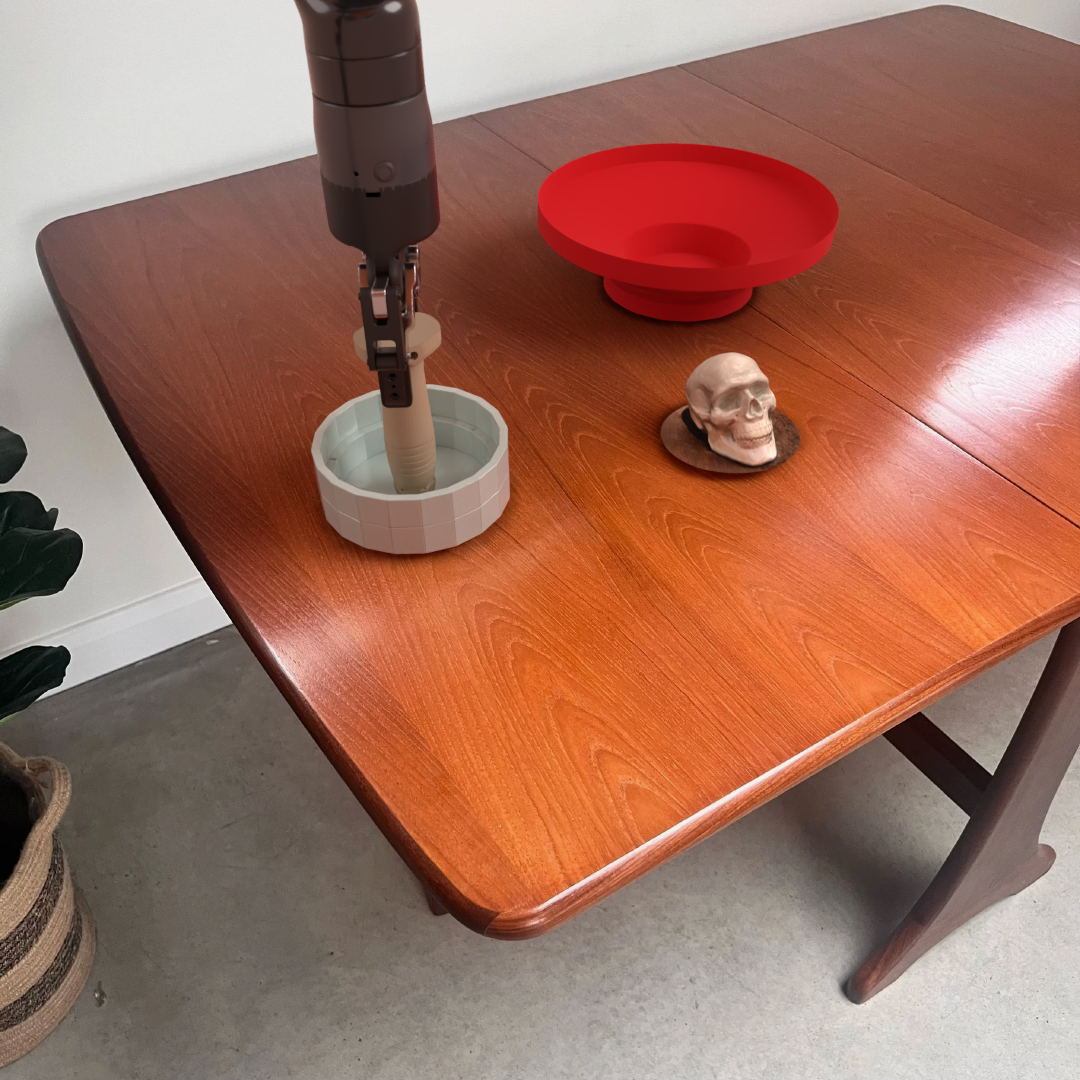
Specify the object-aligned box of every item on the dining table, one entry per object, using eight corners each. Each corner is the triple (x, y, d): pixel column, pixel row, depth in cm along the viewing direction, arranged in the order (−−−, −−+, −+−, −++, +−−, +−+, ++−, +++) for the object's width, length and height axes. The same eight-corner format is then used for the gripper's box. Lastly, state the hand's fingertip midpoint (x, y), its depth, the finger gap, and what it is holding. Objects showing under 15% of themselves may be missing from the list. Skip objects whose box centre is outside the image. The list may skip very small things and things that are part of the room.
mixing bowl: (311, 562, 80) (298, 502, 76) (335, 443, 92) (325, 386, 88) (510, 557, 81) (507, 497, 77) (510, 439, 92) (507, 382, 88)
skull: (837, 452, 88) (776, 393, 81) (743, 530, 91) (678, 479, 85) (774, 374, 96) (714, 315, 90) (690, 449, 100) (626, 396, 93)
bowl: (521, 352, 103) (519, 259, 96) (553, 219, 125) (553, 136, 119) (836, 368, 100) (855, 273, 93) (810, 229, 122) (825, 144, 116)
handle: (367, 489, 86) (342, 330, 76) (436, 463, 89) (420, 305, 79) (394, 521, 83) (371, 359, 73) (464, 493, 86) (451, 333, 76)
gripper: (333, 120, 73) (362, 325, 84) (303, 207, 62) (341, 429, 73) (440, 118, 73) (456, 323, 84) (428, 205, 62) (448, 427, 73)
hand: (402, 372), depth 78 cm, fingers open, 8 cm apart
